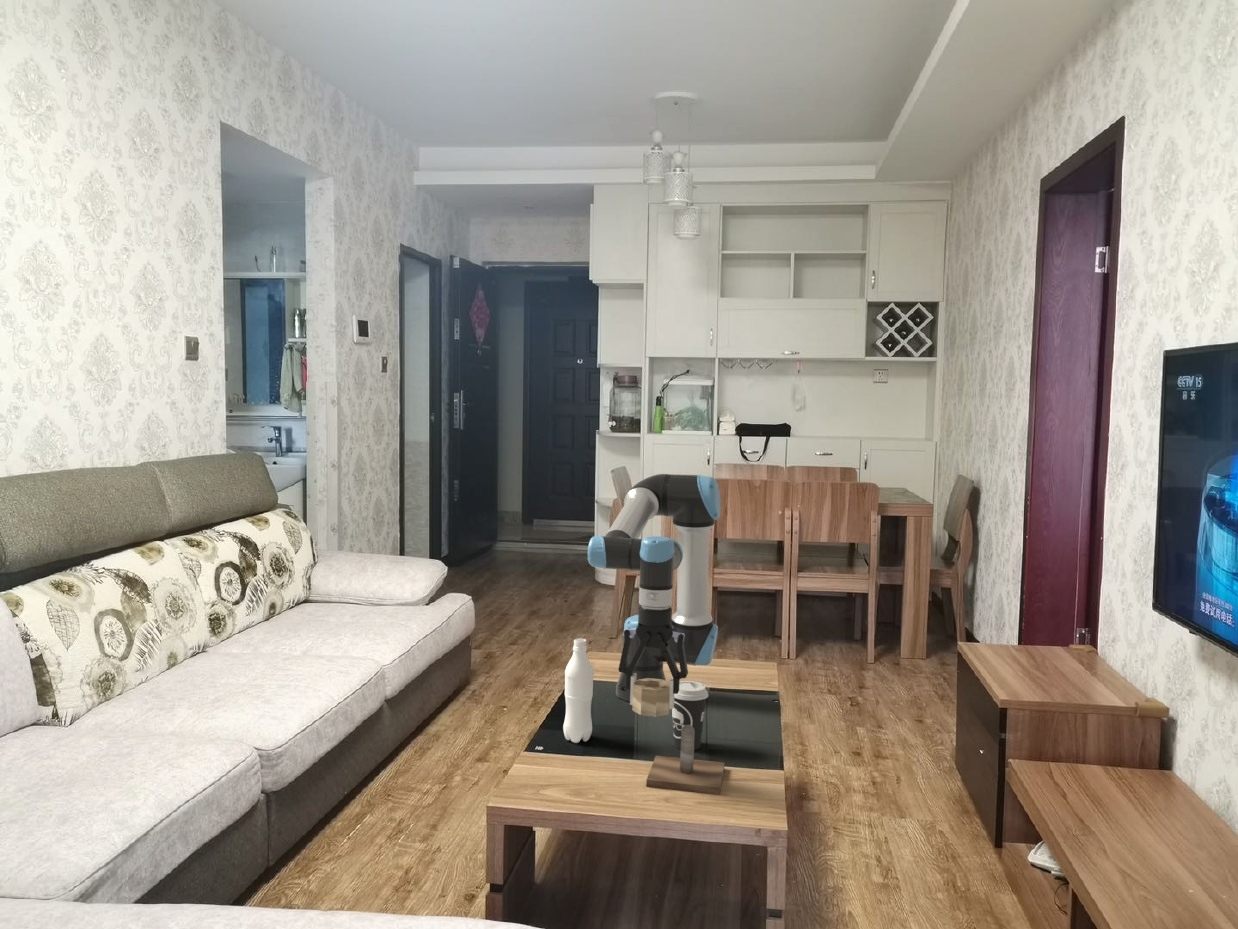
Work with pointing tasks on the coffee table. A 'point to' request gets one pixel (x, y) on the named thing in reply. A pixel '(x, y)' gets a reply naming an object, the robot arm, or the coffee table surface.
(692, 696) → the coffee cup
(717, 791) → the post base
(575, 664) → the water bottle
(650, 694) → the collar
